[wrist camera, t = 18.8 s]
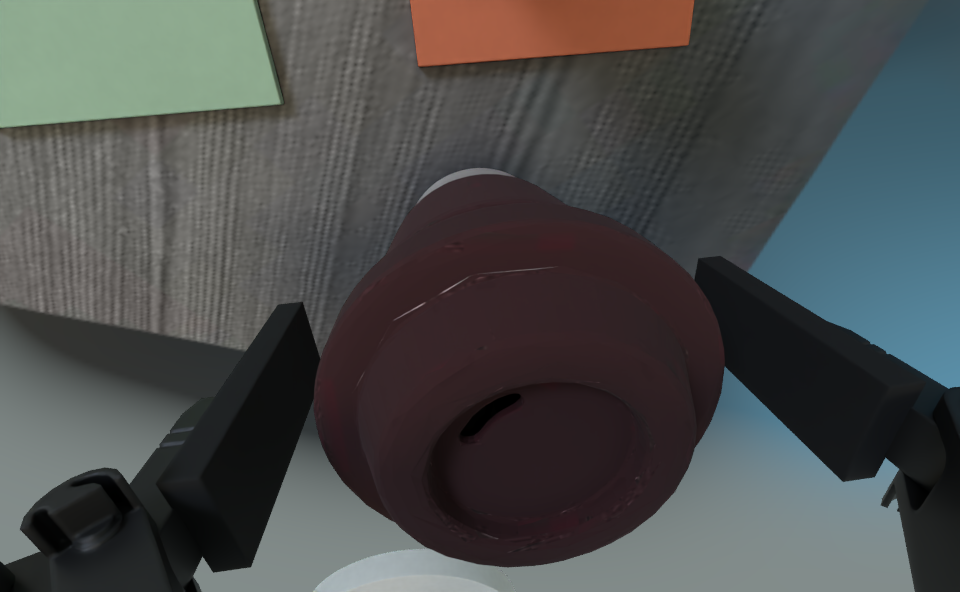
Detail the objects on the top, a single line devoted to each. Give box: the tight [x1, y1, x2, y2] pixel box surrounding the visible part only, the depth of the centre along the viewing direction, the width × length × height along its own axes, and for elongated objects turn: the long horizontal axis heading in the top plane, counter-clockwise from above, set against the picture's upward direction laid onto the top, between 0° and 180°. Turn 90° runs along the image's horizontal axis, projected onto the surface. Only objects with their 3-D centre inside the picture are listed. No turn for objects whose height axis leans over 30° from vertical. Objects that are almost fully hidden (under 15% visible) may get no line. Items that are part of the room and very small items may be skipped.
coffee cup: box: [314, 168, 725, 567], centre depth 15 cm, size 10×10×15 cm
